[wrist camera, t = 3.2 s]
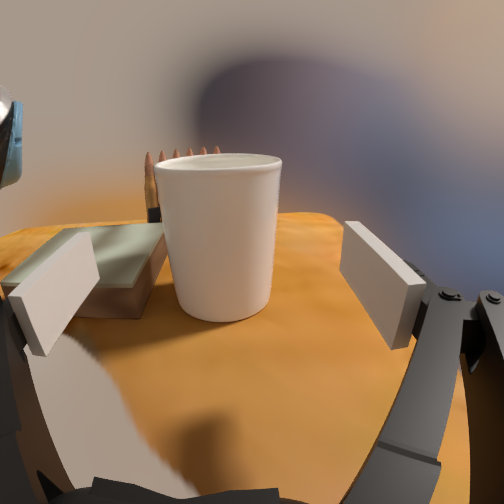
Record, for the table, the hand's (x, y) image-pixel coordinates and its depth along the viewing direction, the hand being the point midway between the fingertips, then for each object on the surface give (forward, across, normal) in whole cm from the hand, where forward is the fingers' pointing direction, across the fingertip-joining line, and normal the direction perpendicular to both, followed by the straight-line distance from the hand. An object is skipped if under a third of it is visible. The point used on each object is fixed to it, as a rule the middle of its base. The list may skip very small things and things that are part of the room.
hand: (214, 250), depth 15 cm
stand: (+14, -15, -8) cm, 22 cm away
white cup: (+10, 0, -9) cm, 13 cm away
